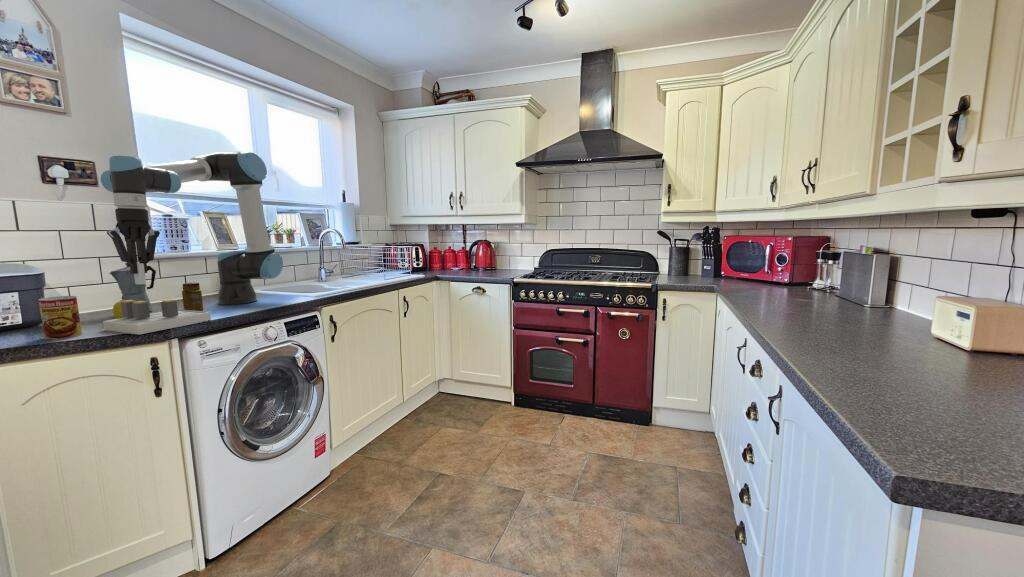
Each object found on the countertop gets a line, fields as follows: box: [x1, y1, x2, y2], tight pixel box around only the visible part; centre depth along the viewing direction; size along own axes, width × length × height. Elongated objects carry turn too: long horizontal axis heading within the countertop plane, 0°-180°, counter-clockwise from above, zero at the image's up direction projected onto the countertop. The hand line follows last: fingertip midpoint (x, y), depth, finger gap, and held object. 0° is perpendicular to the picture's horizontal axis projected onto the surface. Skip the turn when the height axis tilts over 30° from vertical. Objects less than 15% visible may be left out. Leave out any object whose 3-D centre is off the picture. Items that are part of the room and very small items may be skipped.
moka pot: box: [108, 262, 157, 312], centre depth 165 cm, size 10×15×20 cm, turn 166°
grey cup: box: [132, 301, 151, 319], centre depth 137 cm, size 3×3×6 cm
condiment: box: [181, 282, 204, 311], centre depth 161 cm, size 7×8×12 cm
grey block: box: [160, 299, 179, 317], centre depth 140 cm, size 3×3×6 cm
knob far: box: [121, 300, 136, 318], centre depth 139 cm, size 3×3×6 cm
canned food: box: [37, 295, 83, 340], centre depth 127 cm, size 8×8×12 cm
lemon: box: [112, 299, 125, 319], centre depth 147 cm, size 6×6×8 cm
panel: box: [103, 308, 212, 336], centre depth 142 cm, size 22×18×3 cm
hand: (140, 283), depth 132 cm, fingers closed
